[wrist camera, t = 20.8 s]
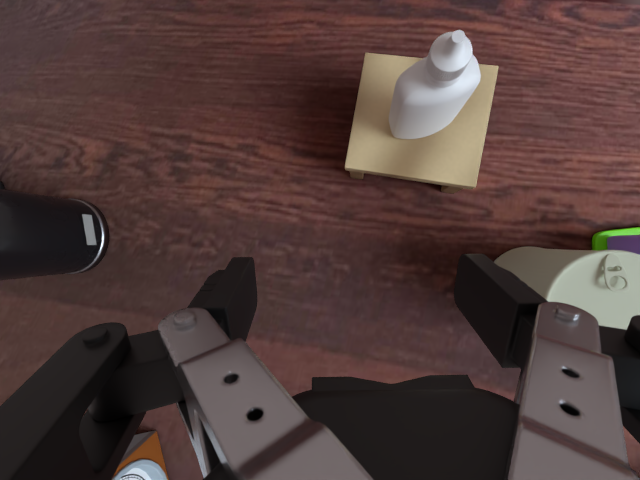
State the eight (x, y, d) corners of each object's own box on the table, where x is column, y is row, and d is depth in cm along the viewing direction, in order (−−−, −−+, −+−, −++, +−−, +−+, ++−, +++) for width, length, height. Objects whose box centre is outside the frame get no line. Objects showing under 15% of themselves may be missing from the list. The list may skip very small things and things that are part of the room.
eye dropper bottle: (396, 90, 29) (418, -12, 18) (457, 103, 29) (523, 5, 17) (383, 136, 30) (396, 65, 18) (443, 150, 29) (499, 86, 17)
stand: (347, 180, 36) (344, 167, 30) (365, 84, 36) (365, 52, 30) (455, 196, 35) (475, 187, 28) (474, 97, 34) (499, 65, 28)
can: (573, 244, 33) (692, 245, 21) (579, 332, 33) (701, 384, 21) (480, 248, 34) (542, 252, 22) (484, 333, 34) (550, 383, 22)
